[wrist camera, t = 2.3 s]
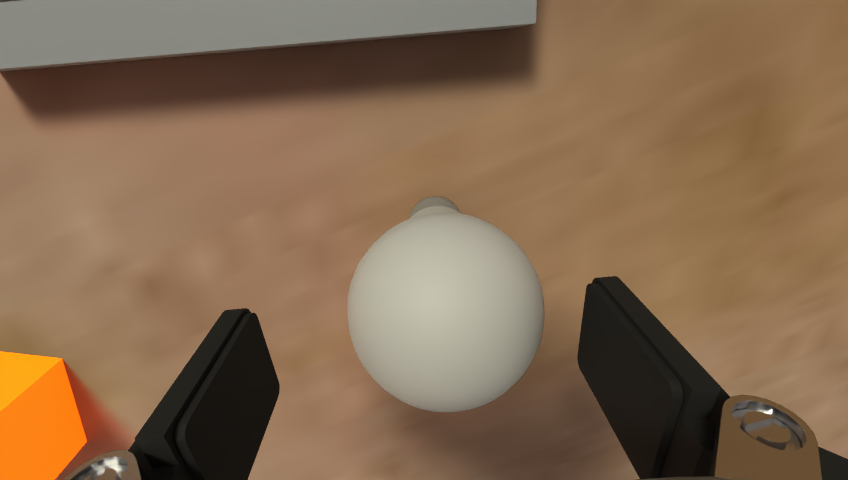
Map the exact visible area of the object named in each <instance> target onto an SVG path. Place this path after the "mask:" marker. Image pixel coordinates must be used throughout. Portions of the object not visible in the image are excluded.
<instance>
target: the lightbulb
mask: <svg viewBox="0 0 848 480" xmlns="http://www.w3.org/2000/svg"><path fill="white" fill-rule="evenodd" d="M347 311H348V328H349V332H350V336H351V339H352V342H353V345H354V348H355V351H356V355H357V356H358V358H359V360H360V362H361V363H362V365H363V367H364V368H365V369H366V371H367V372H368V373H369V374H370V376H371V377H372V378H373V379H374V380H375V381H376V382H377V383H378V384H379V385H380V387H382V388H383V389H384V390H386V391H387V392H388V393H390V394H391V395H393V396H394V397H396V398H397V399H399V400H400V401H402V402H405V403H407V404H409V405H411V406H413V407H416V408H420V409H423V410H428V411H434V412H458V411H466V410H470V409H473V408H477V407H480V406H483V405H485V404H487V403H489V402H492V401H493V400H495V399H497V398H498V397H500V396H501V395H503V394H504V393H505V392H506V391H507V390H508V389H510V388H511V387H512V386H513V385H514V384H515V383H516V382H517V381H518V380H519V379H520V378H521V377H522V375H523V374H524V373H525V371H526V370H527V369H528V367H529V365H530V364H531V362H532V360H533V358H534V356H535V354H536V351H537V349H538V347H539V345H540V341H541V337H542V332H543V325H544V300H543V294H542V289H541V286H540V282H539V279H538V275H537V273H536V271H535V270H534V268H533V266H532V264H531V262H530V261H529V259H528V257H527V255H526V254H525V252H524V251H523V250H522V249H521V248H520V247H519V245H518V244H517V243H516V242H515V241H514V240H513V239H512V238H511V237H509V236H508V235H506V234H505V233H504V232H502V231H501V230H499V229H498V228H497V227H495V226H494V225H492V224H491V223H489V222H486V221H484V220H482V219H479V218H477V217H474V216H470V215H465V214H461V213H460V211H459V210H458V208H457V206H456V205H455V204H454V203H453V202H451V201H450V200H449V199H446V198H444V197H439V196H433V197H428V198H425V199H423V200H421V201H420V202H418V203H417V204H416V205H415V207H414V208H413V210H412V212H411V214H410V217H409V219H408V220H405V221H403V222H401V223H399V224H398V225H396V226H394V227H393V228H391V229H389V230H388V231H387V232H386V233H384V234H383V235H382V236H381V237H380V238H379V239H378V240H377V241H375V243H374V244H373V245H372V246H371V247H370V248H369V250H368V251H367V252H366V254H365V255H364V257H363V258H362V259H361V261H360V262H359V264H358V266H357V269H356V271H355V273H354V276H353V278H352V282H351V285H350V289H349V295H348V300H347Z"/></svg>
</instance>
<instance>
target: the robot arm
mask: <svg viewBox="0 0 848 480" xmlns="http://www.w3.org/2000/svg"><path fill="white" fill-rule="evenodd" d="M578 365H579V368H580V370H581V372H582V374H583V375H584V377H585V379H586V381H587V383H588V385H589V386H590V388H591V390H592V392H593V394H594V396H595V397H596V399H597V401H598V403H599V405H600V407H601V408H602V410H603V412H604V414H605V416H606V418H607V419H608V421H609V423H610V425H611V427H612V428H613V430H614V432H615V434H616V436H617V438H618V439H619V441H620V443H621V445H622V447H623V449H624V450H625V452H626V454H627V456H628V458H629V460H630V461H631V463H632V465H633V467H634V469H635V471H636V472H637V474H638V476H639V478H640V479H638V480H848V459H846V458H844V457H841V456H839V455H837V454H834V453H832V452H830V451H827V450H825V449H823V448H820V447H818V443H817V440H816V437H815V434H814V433H813V431H812V430H811V429H810V427H809V426H808V425H807V424H806V423H805V422H804V421H803V420H802V419H801V418H799V417H798V416H797V415H796V414H795V413H793V412H791V411H790V410H788V409H786V408H785V407H783V406H782V405H779V404H777V403H775V402H772V401H770V400H768V399H764V398H760V397H756V396H750V395H738V396H732V397H730V396H729V395H728V394H727V393H726V392H725V391H724V390H723V389H722V388H721V386H720V385H719V384H718V383H717V382H716V381H715V380H714V379H713V378H712V377H711V376H710V375H709V374H708V373H707V372H706V370H705V369H704V368H703V367H702V366H701V365H700V364H699V363H698V362H697V361H696V360H695V359H694V358H693V357H692V356H691V354H690V353H689V352H688V351H687V350H686V349H685V348H684V347H683V346H682V345H681V344H680V343H679V342H678V341H677V340H676V338H675V337H674V336H673V335H672V334H671V333H670V332H669V331H668V330H667V329H666V328H665V327H664V326H663V325H662V324H661V322H660V321H659V320H658V319H657V318H656V317H655V316H654V315H653V314H652V313H651V312H650V311H649V310H648V309H647V308H646V306H645V305H644V304H643V303H642V302H641V301H640V300H639V299H638V298H637V297H636V296H635V295H634V294H633V293H632V292H631V290H630V289H629V288H628V287H627V286H626V285H625V284H624V283H623V282H622V281H621V280H620V279H619V278H618V277H616V276H613V277H601V278H595V279H594V280H593V282H592V283H591V284H588V285H587V288H586V295H585V302H584V310H583V318H582V326H581V333H580V341H579V349H578ZM278 395H279V381H278V378H277V375H276V372H275V369H274V366H273V363H272V360H271V357H270V354H269V351H268V348H267V345H266V342H265V339H264V335H263V332H262V329H261V326H260V323H259V320H258V317H257V315H256V314H255V313H251V312H250V311H249V309H246V308H245V309H233V310H226V311H224V312H223V313H222V314H221V316H220V317H219V319H218V320H217V322H216V323H215V324H214V326H213V327H212V329H211V330H210V332H209V333H208V334H207V336H206V337H205V339H204V340H203V342H202V343H201V344H200V346H199V347H198V349H197V350H196V352H195V353H194V354H193V356H192V357H191V359H190V360H189V362H188V363H187V364H186V366H185V367H184V369H183V370H182V372H181V373H180V374H179V376H178V377H177V379H176V380H175V382H174V383H173V384H172V386H171V387H170V389H169V390H168V392H167V393H166V394H165V396H164V397H163V399H162V400H161V402H160V403H159V404H158V406H157V407H156V409H155V410H154V412H153V413H152V414H151V416H150V417H149V419H148V420H147V422H146V423H145V424H144V426H143V427H142V429H141V430H140V432H139V433H138V434H137V436H136V437H135V442H134V443H133V445H132V446H131V448H130V449H129V450H128V451H126V450H114V451H110V452H107V453H103V454H101V455H99V456H96V457H94V458H92V459H90V460H88V461H87V462H85V463H84V464H82V465H81V466H79V467H77V468H76V469H75V470H74V471H73V472H71V473H70V474H69V475H68V476H67V477H66V478H64V480H248V477H249V474H250V471H251V469H252V466H253V463H254V461H255V458H256V455H257V452H258V450H259V447H260V444H261V442H262V439H263V436H264V434H265V431H266V428H267V425H268V423H269V420H270V417H271V415H272V412H273V409H274V407H275V404H276V401H277V398H278Z"/></svg>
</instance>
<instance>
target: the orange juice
mask: <svg viewBox="0 0 848 480" xmlns="http://www.w3.org/2000/svg"><path fill="white" fill-rule="evenodd" d="M86 442H87V440H86V436H85V433H84V430H83V426H82V423H81V420H80V416H79V413H78V410H77V406H76V403H75V400H74V396H73V393H72V390H71V386H70V383H69V380H68V376H67V373H66V370H65V366H64V363H63V360H62V358H53V357H45V356H36V355H27V354H18V353H9V352H0V480H55V479H56V477H57V476H58V475H59V474H60V473H61V472H62V470H63V469H64V468H65V467H66V466H67V465H68V463H69V462H70V461H71V460H72V459H73V458H74V456H75V455H76V454H77V453H78V452H79V450H80V449H81V448H82V447H83V446H84V445H85V443H86Z"/></svg>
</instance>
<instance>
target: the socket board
mask: <svg viewBox="0 0 848 480" xmlns="http://www.w3.org/2000/svg"><path fill="white" fill-rule="evenodd" d="M536 6H537V0H20V1H14V0H0V72H2V71H13V70H25V69H37V68H49V67H60V66H72V65H84V64H96V63H107V62H119V61H131V60H143V59H154V58H166V57H178V56H190V55H201V54H213V53H225V52H237V51H248V50H260V49H272V48H284V47H295V46H307V45H319V44H331V43H342V42H354V41H366V40H378V39H389V38H401V37H413V36H425V35H436V34H448V33H460V32H472V31H483V30H495V29H507V28H519V27H523V26H527V25H531V24H535V23H536Z"/></svg>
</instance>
